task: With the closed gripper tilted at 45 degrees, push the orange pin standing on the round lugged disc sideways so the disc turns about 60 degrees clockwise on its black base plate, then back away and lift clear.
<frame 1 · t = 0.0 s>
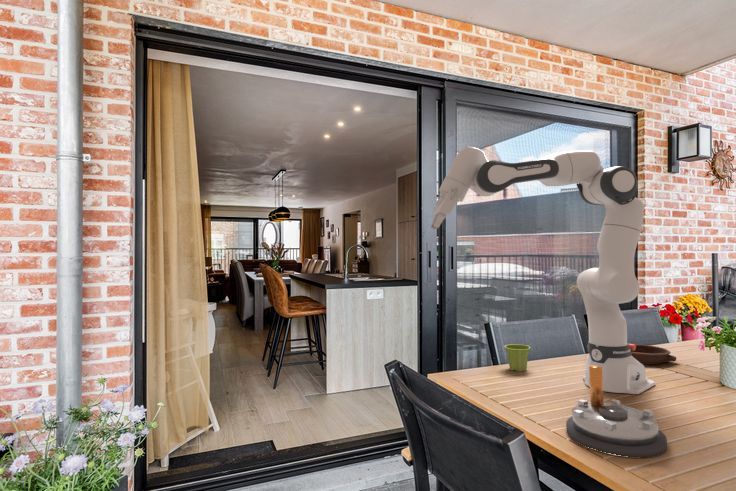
hand: (434, 227, 142), 54 cm above the table, tool tilted 30°, fingers open, 8 cm apart
dish: (642, 361, 168), on the table
round lugged disc: (612, 401, 102), point 9 cm above the table, hinge at 0.0°
plant pot: (518, 369, 161), on the table
base plate: (614, 436, 102), on the table
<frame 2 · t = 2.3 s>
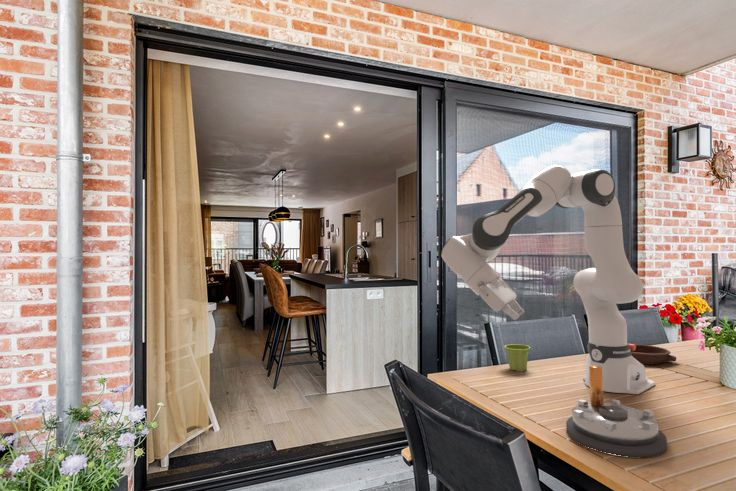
hand: (520, 316, 119), 27 cm above the table, tool tilted 45°, fingers open, 7 cm apart
nothing on the table moved.
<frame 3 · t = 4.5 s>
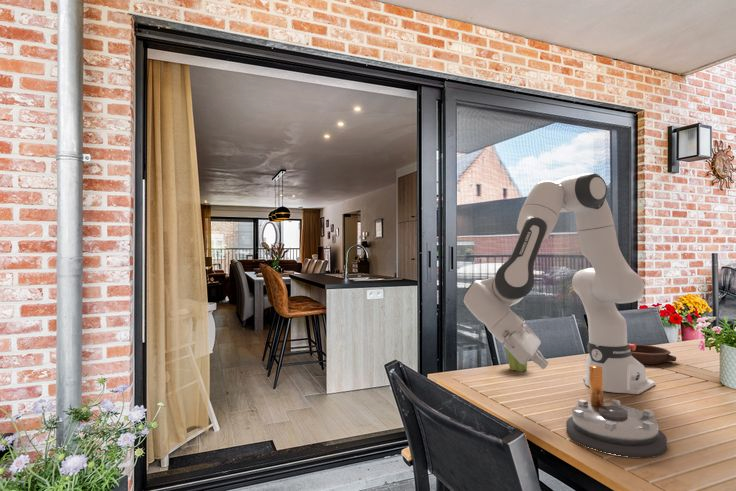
hand: (546, 366, 116), 14 cm above the table, tool tilted 45°, fingers closed
nothing on the table moved.
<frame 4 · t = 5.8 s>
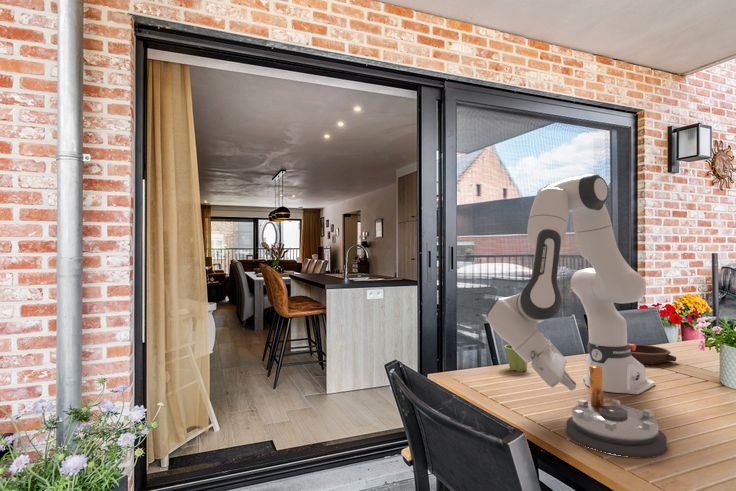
hand: (574, 387, 112), 9 cm above the table, tool tilted 45°, fingers closed
nothing on the table moved.
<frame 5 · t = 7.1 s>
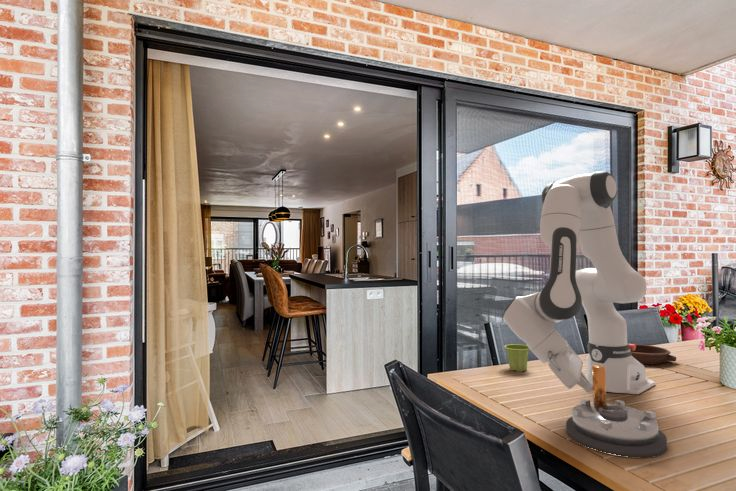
hand: (590, 389, 111), 9 cm above the table, tool tilted 45°, fingers closed, pressing on round lugged disc
round lugged disc: (612, 401, 102), point 9 cm above the table, hinge at 6.3°, touching gripper
everything else where it was.
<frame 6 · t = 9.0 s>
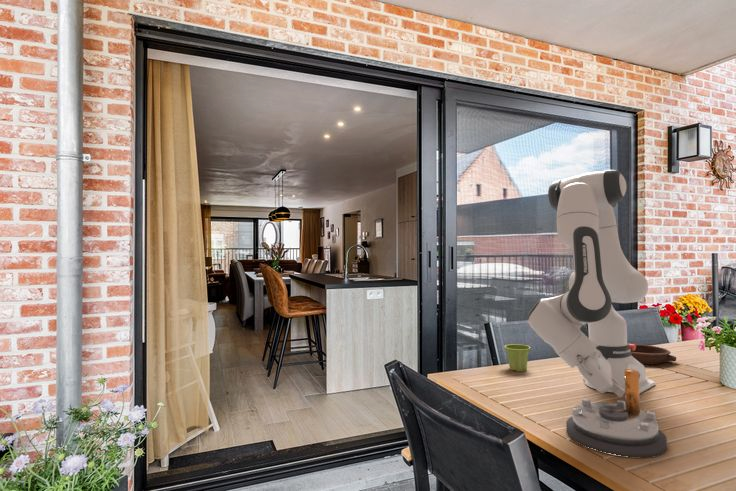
hand: (622, 394, 107), 9 cm above the table, tool tilted 45°, fingers closed
round lugged disc: (612, 401, 102), point 9 cm above the table, hinge at 68.7°, touching gripper
everything else where it was.
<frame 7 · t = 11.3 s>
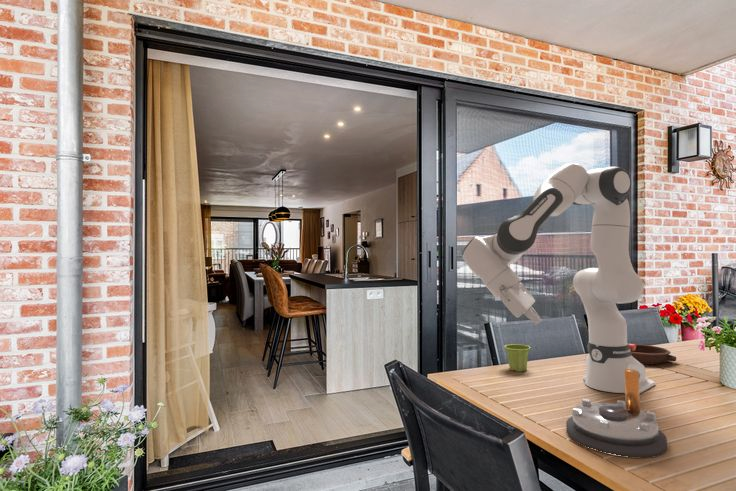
hand: (539, 322, 118), 26 cm above the table, tool tilted 40°, fingers closed
round lugged disc: (612, 401, 102), point 9 cm above the table, hinge at 68.8°
everything else where it was.
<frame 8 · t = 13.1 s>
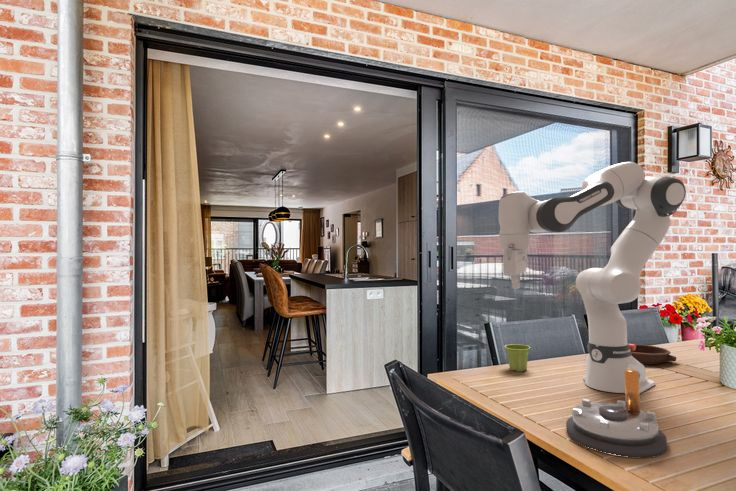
hand: (516, 288, 130), 34 cm above the table, tool pointing down, fingers closed
nothing on the table moved.
at the end: round lugged disc at +69° (first picture: +0°); plant pot moved 0.2 cm from its start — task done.
